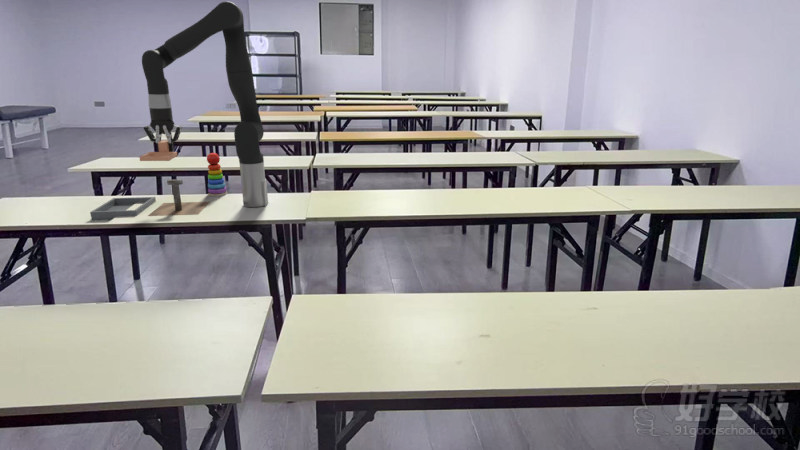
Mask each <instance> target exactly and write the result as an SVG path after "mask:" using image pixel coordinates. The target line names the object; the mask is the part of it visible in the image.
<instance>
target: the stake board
mask: <svg viewBox="0 0 800 450" xmlns="http://www.w3.org/2000/svg"><path fill="white" fill-rule="evenodd" d="M166 183H167V185H168V186H170V185H171V189H172V197H173V202H163V203H162V204H161V205H159V206H158V207H157V208H155V209H154V210H153V211H151V213H149V214H148V215H147V217H157V216H159V217H163V216H188V215H189V216H193V215H197V216H198V215H199V214H200V213H201V212H202V211H203V210H205V208H206V207H207V206H208V205H209V204H211V201H189V202H187V201H186V202H185V201H184V202H182V198H181V191H180V185H183V179H181V178H180V179H167V180H166Z"/></svg>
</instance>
